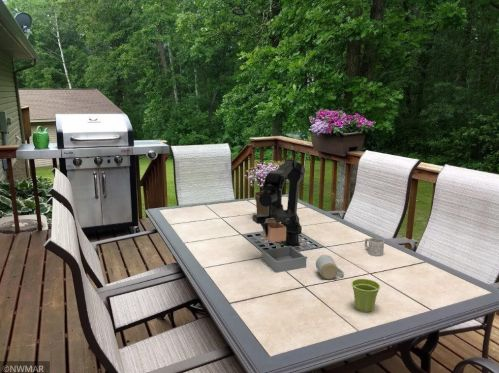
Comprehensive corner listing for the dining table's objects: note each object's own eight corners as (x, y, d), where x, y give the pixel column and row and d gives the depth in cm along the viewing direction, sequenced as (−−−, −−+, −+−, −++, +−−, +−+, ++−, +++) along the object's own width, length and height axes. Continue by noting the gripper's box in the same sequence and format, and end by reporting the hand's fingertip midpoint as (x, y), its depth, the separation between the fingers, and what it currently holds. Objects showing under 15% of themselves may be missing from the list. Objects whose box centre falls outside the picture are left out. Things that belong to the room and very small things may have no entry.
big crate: (290, 256, 181) (290, 245, 180) (306, 268, 168) (306, 257, 167) (262, 260, 176) (262, 250, 175) (276, 273, 163) (276, 262, 162)
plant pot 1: (286, 219, 237) (286, 192, 234) (273, 226, 224) (273, 198, 221) (262, 215, 246) (263, 189, 242) (249, 221, 233) (248, 194, 229)
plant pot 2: (346, 301, 140) (347, 278, 138) (372, 300, 140) (373, 277, 139) (355, 315, 130) (356, 291, 129) (383, 314, 131) (385, 290, 129)
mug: (386, 254, 182) (387, 241, 181) (376, 257, 179) (377, 243, 178) (369, 247, 191) (370, 234, 189) (359, 250, 187) (360, 237, 186)
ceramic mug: (320, 280, 156) (321, 262, 154) (315, 271, 164) (316, 254, 162) (346, 280, 157) (347, 261, 155) (340, 271, 165) (341, 254, 163)
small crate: (277, 234, 180) (277, 221, 178) (285, 240, 171) (286, 227, 170) (263, 235, 177) (263, 223, 176) (271, 242, 169) (271, 228, 168)
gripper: (261, 207, 160) (261, 244, 163) (303, 204, 167) (301, 239, 170) (252, 201, 171) (252, 236, 174) (291, 198, 177) (290, 231, 180)
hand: (274, 235), depth 174 cm, fingers closed on small crate, 7 cm apart
